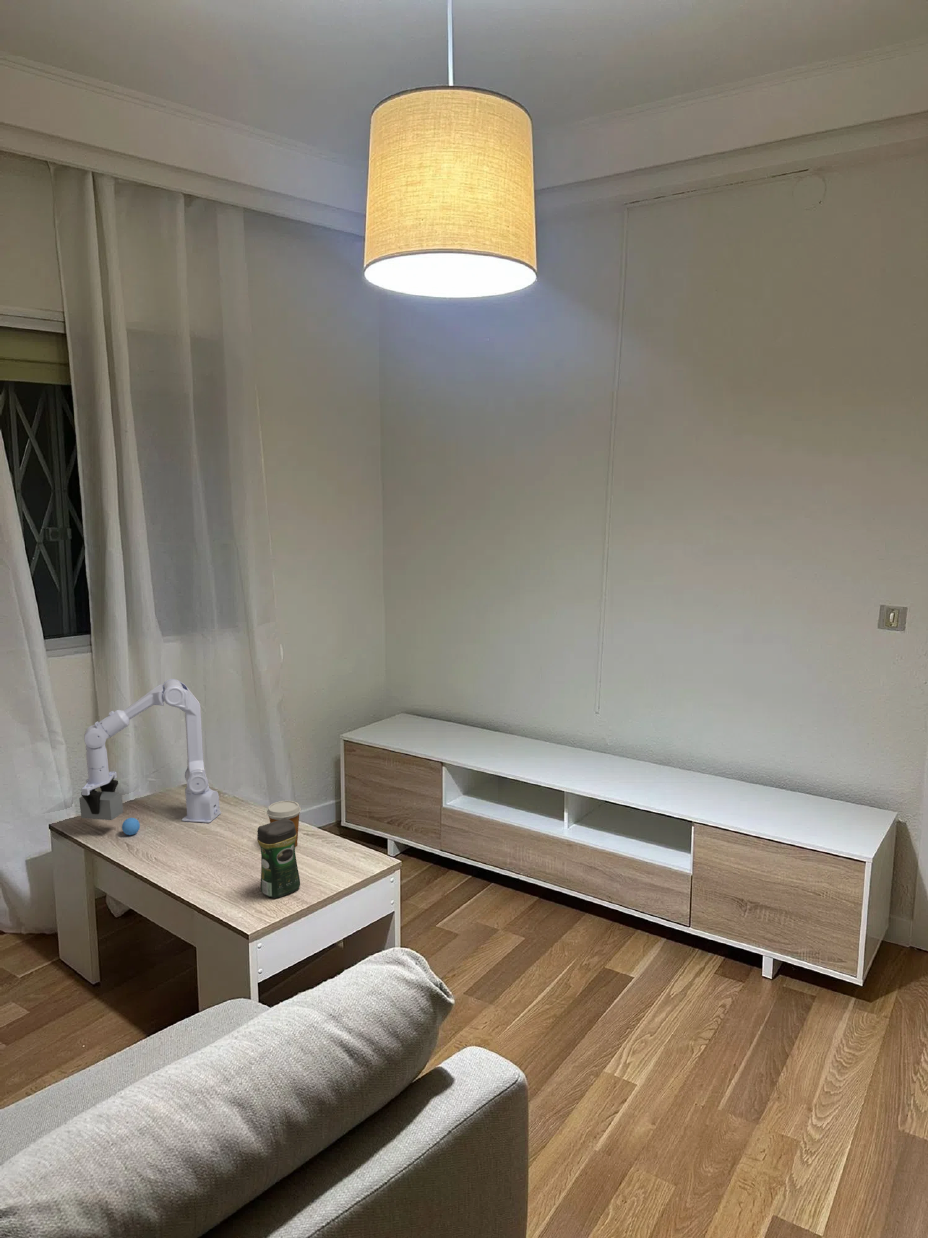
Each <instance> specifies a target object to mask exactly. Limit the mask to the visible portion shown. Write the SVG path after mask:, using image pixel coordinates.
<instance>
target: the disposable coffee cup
mask: <svg viewBox="0 0 928 1238" xmlns="http://www.w3.org/2000/svg"><path fill="white" fill-rule="evenodd" d="M301 811H302V808H301V807H300V804H299V803H298V802H297V801H293V800H282V801H281V800H280V801H276V802H273V803H271V804H270V805H268V808H267V810H266V815H267V817H268V818H269V819H268V820H269V823H272V822H275V821H278V820H281V819H283V818H287V819H289V820H291V821H292V822H293V823H294V825H295V829H296V840H295V848H297V846H298V839H299V838H298V837H299V825H300V823H299V822H300V814H301Z"/></svg>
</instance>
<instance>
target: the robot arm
mask: <svg viewBox="0 0 928 1238" xmlns="http://www.w3.org/2000/svg"><path fill="white" fill-rule="evenodd" d="M164 704H166V705H168V706H171V707H174V708H177V709H179V710H181V711H182V712H183V713H184V717H185V736H186V737H185V738H186V755H187V759H186V760H187V761H186V763H187V764H186V765H187V766H186V767H187V768H186V770H185V771H184V779H185V781H186V788H185V789H184V793H185V804H186V815H185V816H184V817H182V819H181V822H191V823H192V822H194V823H204V824H205V823H206V824H207V823H211V822H213V820H215V819H216V818H217V817H219V816H220V815H221V814H222V811H221V809H220V806H221V805H220V796H219V792H218V791H217V790H213V789H211V788H210V786H209V779H208V777H207V774H206V773H207V772H206V770H205V763H204V750H203V748H204V747H203V731H202V729H203V728H202V714H201V713H202V712H201V711H202V709H201V703H200V702H199V700H198V699H197V698H196V696H195V695H194V693H192V691H191V690H190V689H189V687H188V686H187V685H186V684H185V683H184V682H182V681H181V680H178V679H177V678H169V679H167V680H166V681H164V683H163V684H162V683H160V684H159V685H156V686H155V687H154V688H152V689H150V691H148V692H147V693H145V695H143V696H141V697H140V698H139V699H138V700H136V701H135V702H133V703H132V704H131V705H129V706H128V707H126V708H125V709H124V710H123V709H116V710H115V711H114V710H111V711H109V712H108V715H107V716H106V717H105V718H103V719H101V720H100V721H96V722H94V724H92V725H90V726H88V727H87V728H86V729H85V731H84V734H83V736H84V738H83V740H84V744H85V750H86V752H85V755H86V756H85V757H86V766H87V767H86V768H87V775H88V776H87V777H88V778H87V779H86V780H85V783H86V784H85V785H84V786H83V787H82V788H81V792H80V793H81V796H80V797H83V798H84V799H85V800H86V802H87V804H88V806H89V808H90V811H91V813H92V814H99V811H100V797H101V794H102V792H97V791H98V790H97V789H99V788H100V790H101V791H103V792H116V790H117V787H118V785H119V780H118V779H117V778H118V776H117V771H110V768H109V760H108V749H107V747H106V742H107V740H108V739H111V738H113V737H114V736H115V735H117V734H119V733H120V732H121V731H123V730H124V729H126V728H127V727H128V726H129V725H130V720H132V719H133V718H135V717H136V716H138V715H139V714H141V713H143V712H145V711H146V710H148V709H150V708H151V707H152V706H163V707H164V706H165V705H164ZM115 779H117V780H115Z"/></svg>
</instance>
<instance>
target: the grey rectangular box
mask: <svg viewBox="0 0 928 1238" xmlns="http://www.w3.org/2000/svg"><path fill="white" fill-rule="evenodd" d="M96 791H97V792H102V794H101V797H100V811H99V814H92V813H91V811H90V808H89V806H88V804H87V802H86V800H85V799H84V798H83V797H82V796H80V797H79V799H78V800H79V810H80V817H81V819H88V820H89V819H91V820H103V821H113V820H114V819H115V818H117V817H118V816H120V815H122V814H123V813H124V806H123V798H122V797H123V795H122V792H116V791H115V792H103V791H99V790H96Z"/></svg>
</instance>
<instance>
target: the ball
mask: <svg viewBox="0 0 928 1238" xmlns="http://www.w3.org/2000/svg"><path fill="white" fill-rule="evenodd" d="M140 827H141V824H140V821H139V820H138V819H137V818H134V817H128V818H126V819H125V820H124V821H123V822H122V824H121V828H122V829H121V830H122V831H123V833H124V834H125V835H127V836H133V835H136V834H137V833H138V832H139V830H140Z"/></svg>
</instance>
